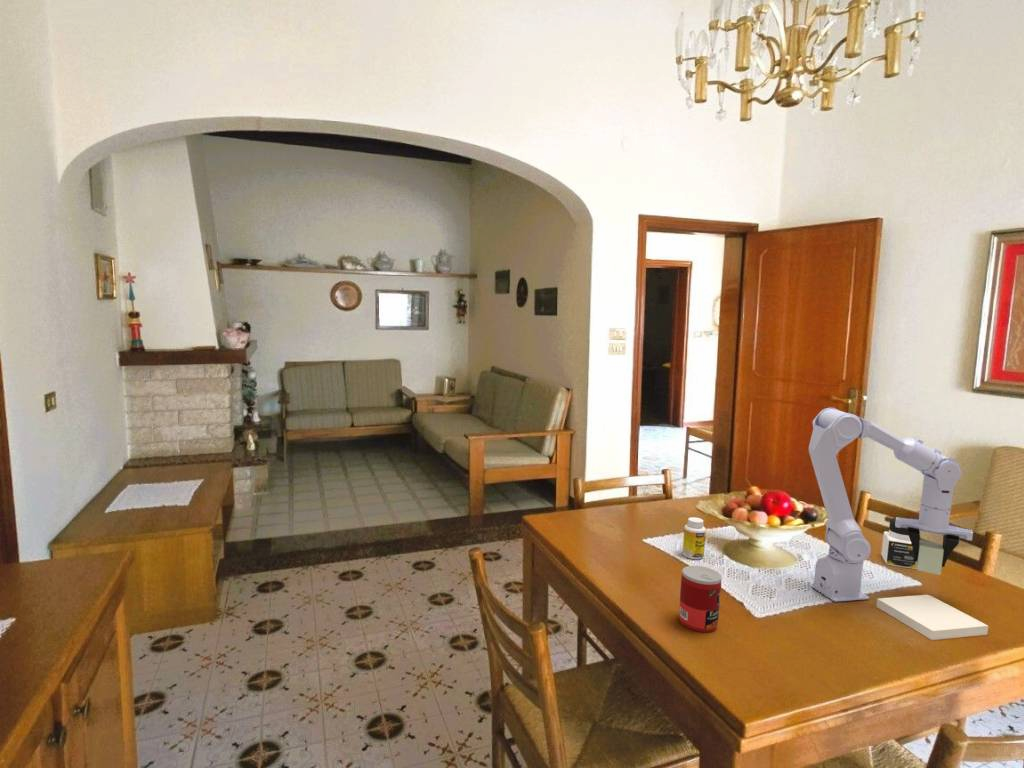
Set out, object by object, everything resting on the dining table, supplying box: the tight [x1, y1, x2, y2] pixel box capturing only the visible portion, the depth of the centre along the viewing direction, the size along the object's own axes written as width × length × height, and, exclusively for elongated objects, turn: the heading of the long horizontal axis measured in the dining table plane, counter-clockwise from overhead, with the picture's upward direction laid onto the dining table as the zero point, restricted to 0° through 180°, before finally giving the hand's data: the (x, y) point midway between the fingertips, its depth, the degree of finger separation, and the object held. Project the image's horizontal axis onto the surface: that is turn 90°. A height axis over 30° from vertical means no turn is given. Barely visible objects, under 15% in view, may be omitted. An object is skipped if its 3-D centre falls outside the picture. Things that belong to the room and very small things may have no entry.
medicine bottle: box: [881, 517, 917, 570], centre depth 159 cm, size 7×7×12 cm
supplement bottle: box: [682, 517, 707, 560], centre depth 159 cm, size 6×6×10 cm
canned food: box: [678, 565, 722, 633], centre depth 123 cm, size 8×8×11 cm
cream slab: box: [875, 594, 989, 641], centre depth 128 cm, size 14×14×2 cm
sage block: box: [915, 539, 944, 576], centre depth 138 cm, size 4×4×6 cm
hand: (928, 562), depth 138 cm, fingers closed on sage block, 4 cm apart
